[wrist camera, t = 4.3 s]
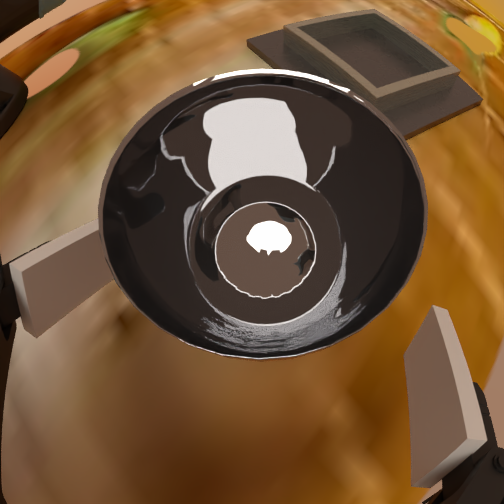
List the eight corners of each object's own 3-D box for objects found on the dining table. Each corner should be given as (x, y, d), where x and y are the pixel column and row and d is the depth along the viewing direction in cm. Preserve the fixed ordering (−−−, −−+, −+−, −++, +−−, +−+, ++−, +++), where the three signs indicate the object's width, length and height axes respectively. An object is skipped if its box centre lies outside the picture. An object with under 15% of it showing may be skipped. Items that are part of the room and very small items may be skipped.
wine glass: (351, 297, 21) (469, 168, 7) (275, 390, 19) (284, 444, 5) (261, 228, 23) (245, 42, 9) (185, 311, 21) (48, 205, 7)
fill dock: (247, 46, 31) (244, 22, 28) (370, 17, 34) (373, -2, 31) (365, 160, 25) (375, 133, 21) (479, 104, 27) (491, 84, 24)
